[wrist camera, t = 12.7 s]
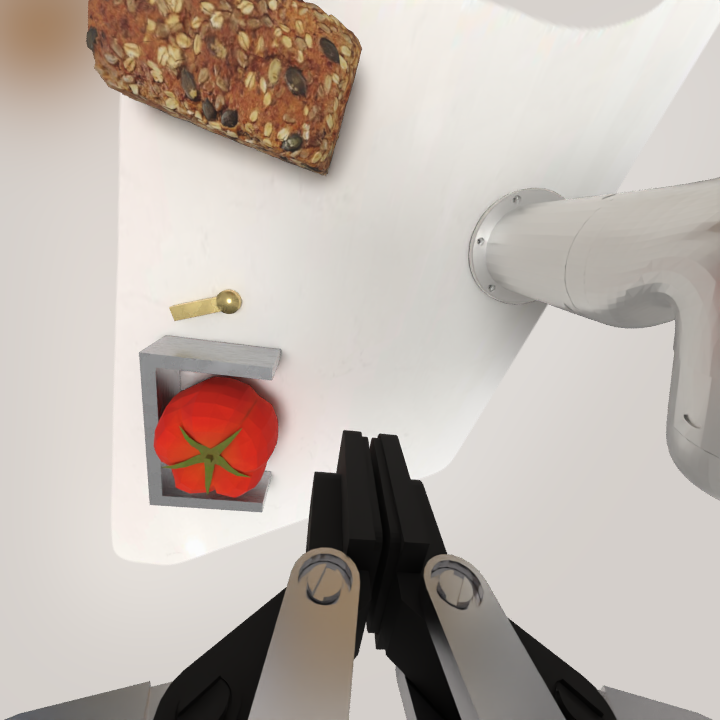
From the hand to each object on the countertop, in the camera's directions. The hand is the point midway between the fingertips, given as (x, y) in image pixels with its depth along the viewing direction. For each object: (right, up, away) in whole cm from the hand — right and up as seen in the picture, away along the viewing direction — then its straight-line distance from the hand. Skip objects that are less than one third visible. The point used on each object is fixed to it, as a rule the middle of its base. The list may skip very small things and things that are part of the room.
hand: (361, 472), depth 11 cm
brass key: (-19, +10, +29) cm, 36 cm away
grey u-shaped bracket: (-17, -4, +35) cm, 39 cm away
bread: (-11, +30, +23) cm, 39 cm away
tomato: (-17, -4, +35) cm, 39 cm away
